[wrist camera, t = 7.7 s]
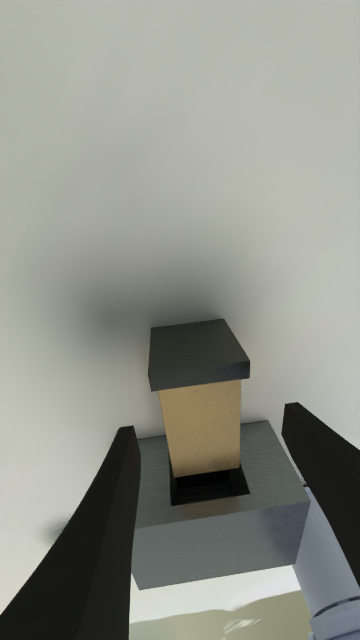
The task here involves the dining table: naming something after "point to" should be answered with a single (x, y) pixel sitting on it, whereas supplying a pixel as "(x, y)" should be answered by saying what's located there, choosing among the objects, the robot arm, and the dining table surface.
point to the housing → (218, 515)
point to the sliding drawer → (199, 393)
